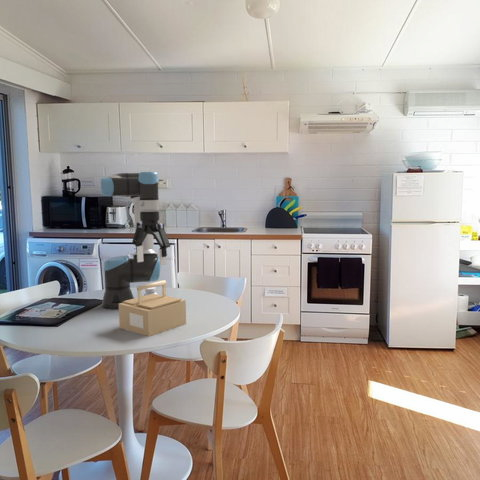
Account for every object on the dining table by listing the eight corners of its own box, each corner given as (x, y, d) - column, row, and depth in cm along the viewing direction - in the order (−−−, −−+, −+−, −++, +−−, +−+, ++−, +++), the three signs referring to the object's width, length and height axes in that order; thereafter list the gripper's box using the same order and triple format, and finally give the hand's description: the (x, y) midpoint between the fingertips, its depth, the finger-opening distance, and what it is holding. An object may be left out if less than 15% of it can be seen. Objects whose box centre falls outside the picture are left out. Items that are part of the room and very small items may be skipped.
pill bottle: (161, 312, 209) (160, 287, 208) (153, 315, 204) (152, 290, 202) (149, 310, 212) (148, 285, 211) (141, 314, 206) (140, 288, 205)
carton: (119, 327, 187) (118, 302, 186) (157, 316, 203) (156, 292, 201) (148, 336, 176) (147, 309, 175) (186, 323, 192) (185, 298, 190)
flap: (135, 305, 182) (134, 286, 181) (165, 297, 195) (165, 279, 194) (151, 308, 176) (150, 289, 176) (181, 300, 189) (181, 282, 188)
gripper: (122, 210, 188) (124, 261, 191) (163, 212, 173) (165, 267, 175) (136, 209, 194) (138, 259, 197) (178, 211, 179) (179, 265, 181)
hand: (151, 263), depth 186 cm, fingers open, 13 cm apart
